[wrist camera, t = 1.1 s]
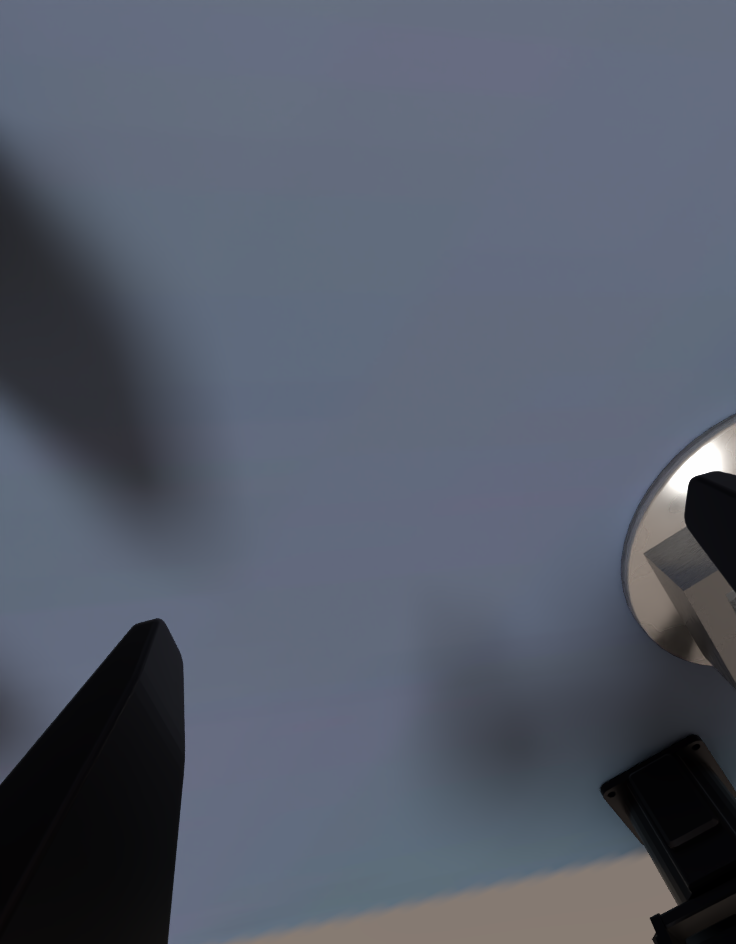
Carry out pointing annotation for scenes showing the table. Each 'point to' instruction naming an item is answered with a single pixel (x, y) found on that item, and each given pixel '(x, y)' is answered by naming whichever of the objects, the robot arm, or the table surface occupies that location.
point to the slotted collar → (682, 562)
